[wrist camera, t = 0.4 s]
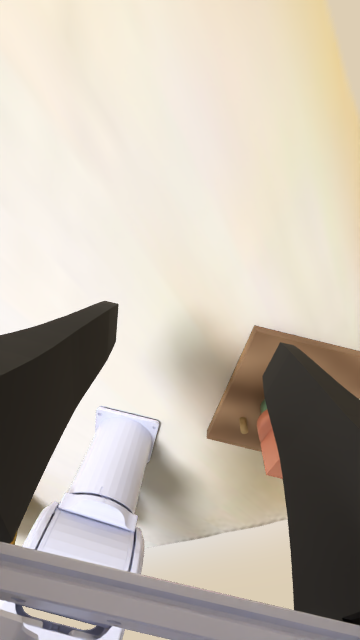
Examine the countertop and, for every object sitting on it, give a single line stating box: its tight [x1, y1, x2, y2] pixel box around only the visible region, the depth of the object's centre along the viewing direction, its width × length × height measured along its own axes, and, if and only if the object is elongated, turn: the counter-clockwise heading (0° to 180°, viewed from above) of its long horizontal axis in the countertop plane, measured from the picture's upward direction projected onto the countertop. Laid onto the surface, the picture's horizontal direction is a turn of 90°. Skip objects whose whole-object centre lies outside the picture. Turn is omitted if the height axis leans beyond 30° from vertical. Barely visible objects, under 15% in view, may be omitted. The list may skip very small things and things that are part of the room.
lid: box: [257, 410, 283, 479], centre depth 21 cm, size 6×6×4 cm
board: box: [207, 325, 360, 452], centre depth 24 cm, size 16×12×2 cm
